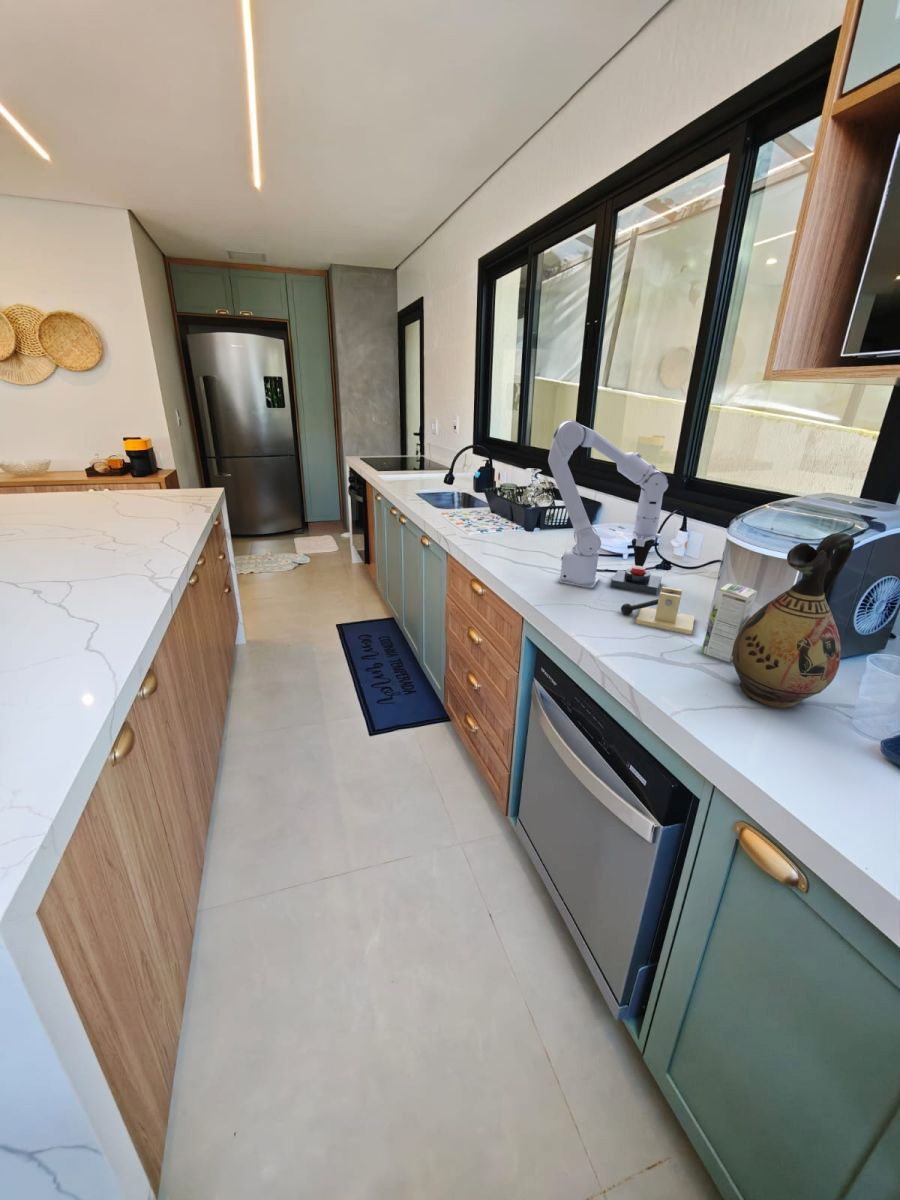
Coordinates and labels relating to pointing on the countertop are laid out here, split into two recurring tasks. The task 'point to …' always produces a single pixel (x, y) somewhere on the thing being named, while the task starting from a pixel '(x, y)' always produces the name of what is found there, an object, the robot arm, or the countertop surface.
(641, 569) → the button
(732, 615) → the syrup box
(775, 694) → the ceramic jug
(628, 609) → the lever
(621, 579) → the block
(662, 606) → the cream lever stand
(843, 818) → the countertop surface
